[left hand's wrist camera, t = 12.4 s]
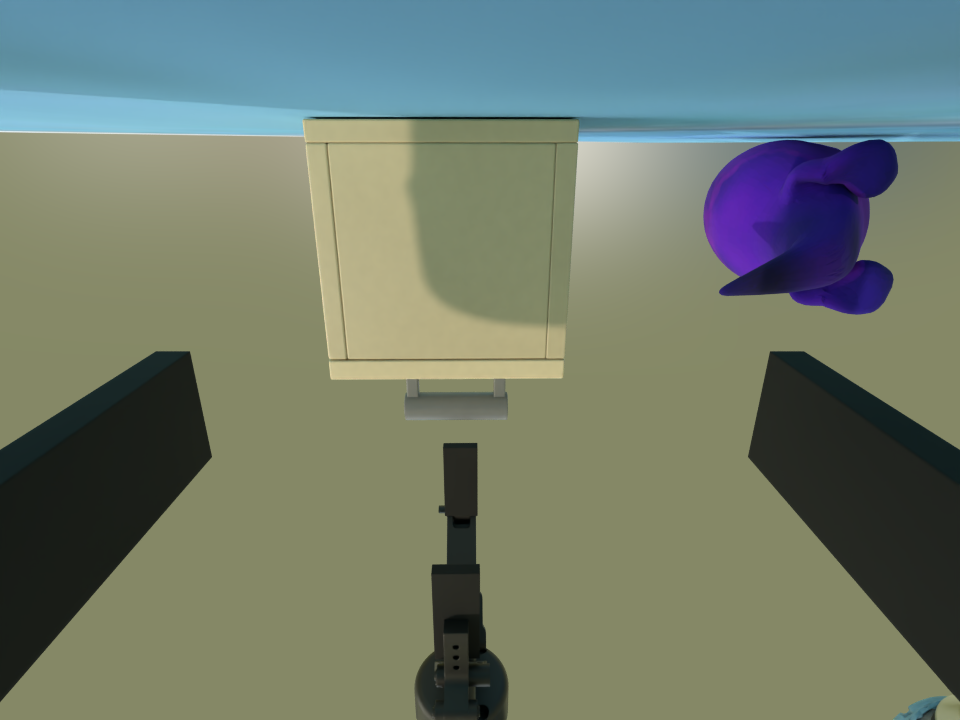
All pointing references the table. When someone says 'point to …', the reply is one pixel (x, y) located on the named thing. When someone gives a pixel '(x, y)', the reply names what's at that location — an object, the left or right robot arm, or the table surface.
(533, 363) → the beige boxy piece
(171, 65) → the table surface
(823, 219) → the toy
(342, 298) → the chest
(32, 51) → the table surface
